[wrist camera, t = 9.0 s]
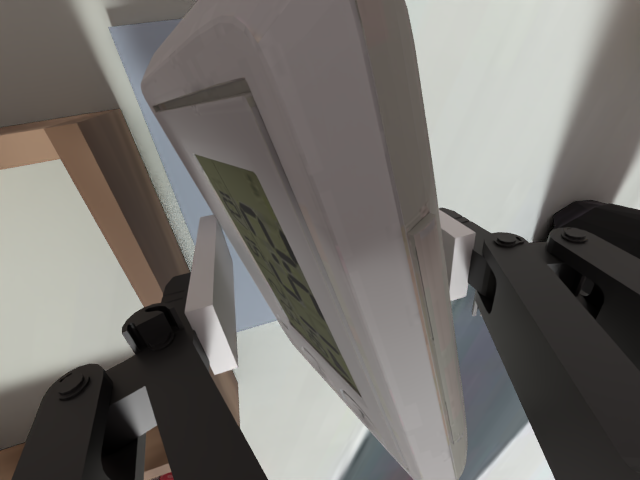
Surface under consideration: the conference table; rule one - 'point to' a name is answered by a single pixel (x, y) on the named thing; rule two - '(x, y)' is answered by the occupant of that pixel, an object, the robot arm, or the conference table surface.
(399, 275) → the digital clock
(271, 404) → the conference table surface
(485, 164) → the conference table surface
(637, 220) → the portable speaker
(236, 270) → the slate mat
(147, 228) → the walnut tray
